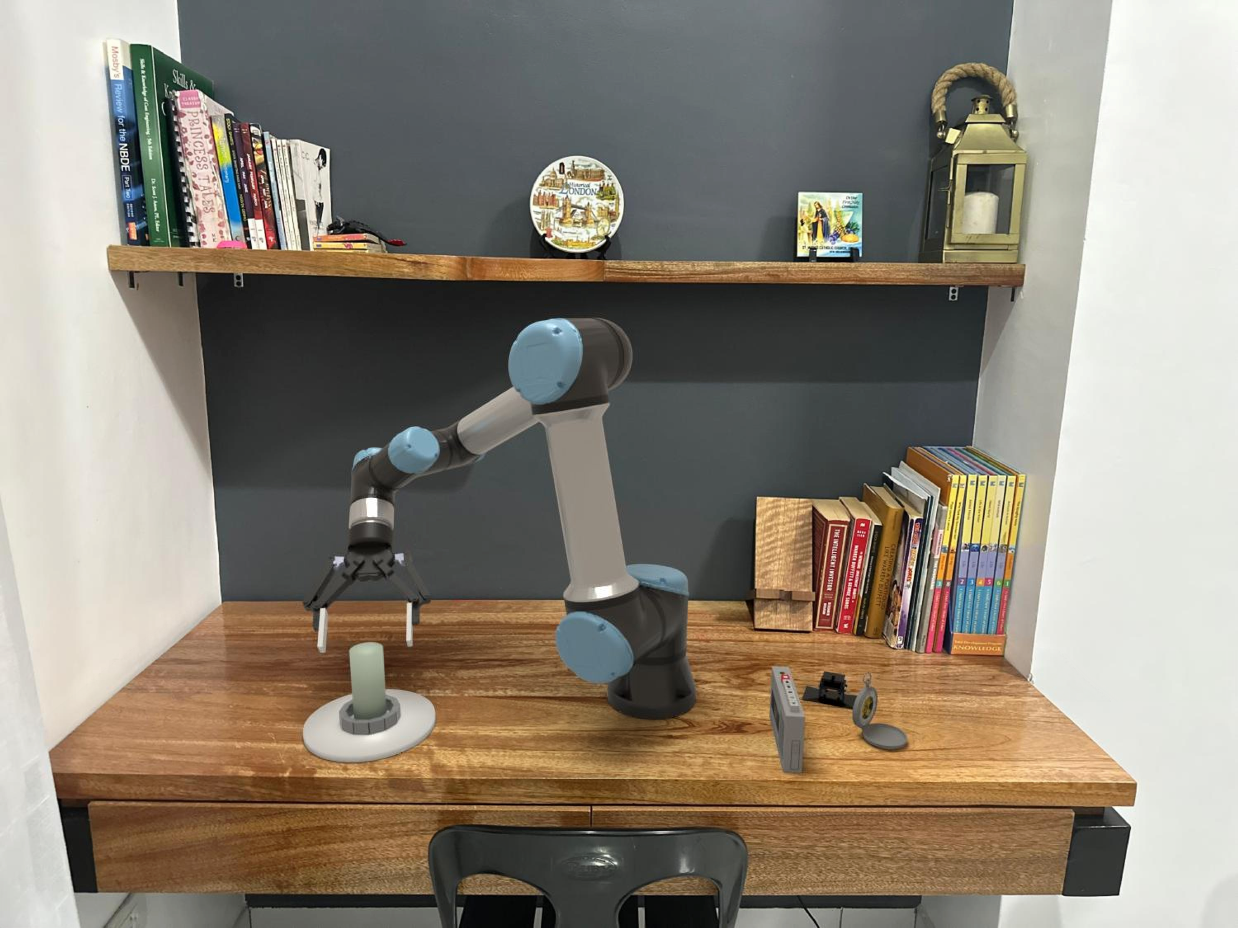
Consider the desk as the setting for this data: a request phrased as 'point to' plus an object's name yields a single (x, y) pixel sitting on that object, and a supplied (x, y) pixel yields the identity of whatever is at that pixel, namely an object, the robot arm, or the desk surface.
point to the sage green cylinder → (368, 681)
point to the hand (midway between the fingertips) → (365, 646)
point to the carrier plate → (372, 744)
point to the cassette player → (787, 720)
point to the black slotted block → (830, 691)
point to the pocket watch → (876, 732)
